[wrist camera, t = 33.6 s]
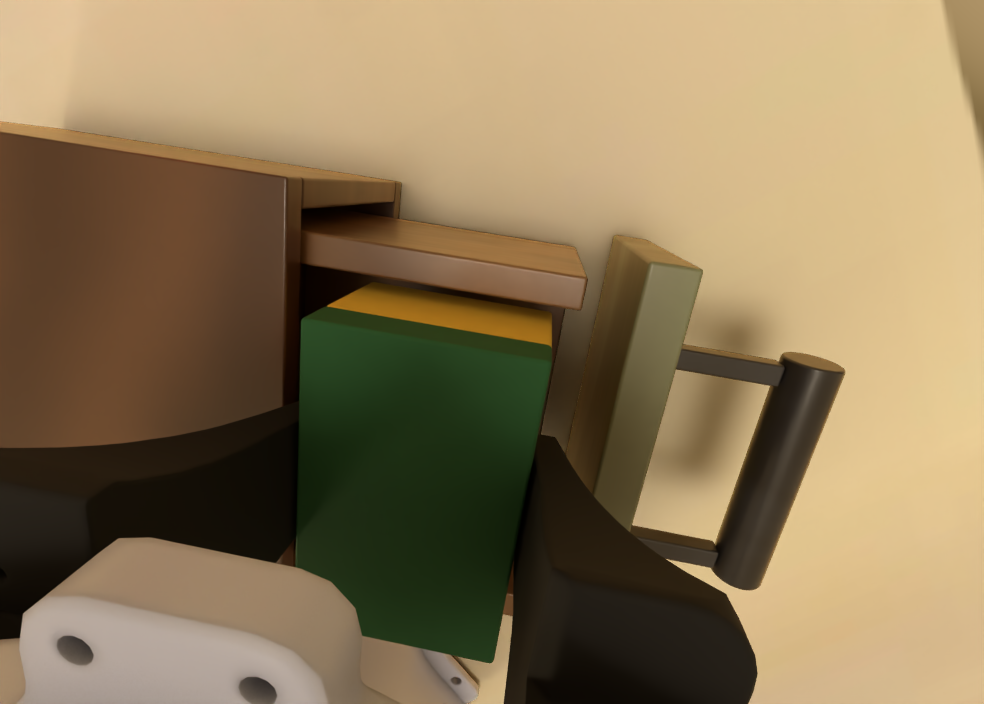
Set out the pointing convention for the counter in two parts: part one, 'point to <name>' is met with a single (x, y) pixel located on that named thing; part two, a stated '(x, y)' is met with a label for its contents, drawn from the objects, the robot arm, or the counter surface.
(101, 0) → the counter surface
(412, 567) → the sponge
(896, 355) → the counter surface
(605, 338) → the drawer
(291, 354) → the cabinet
